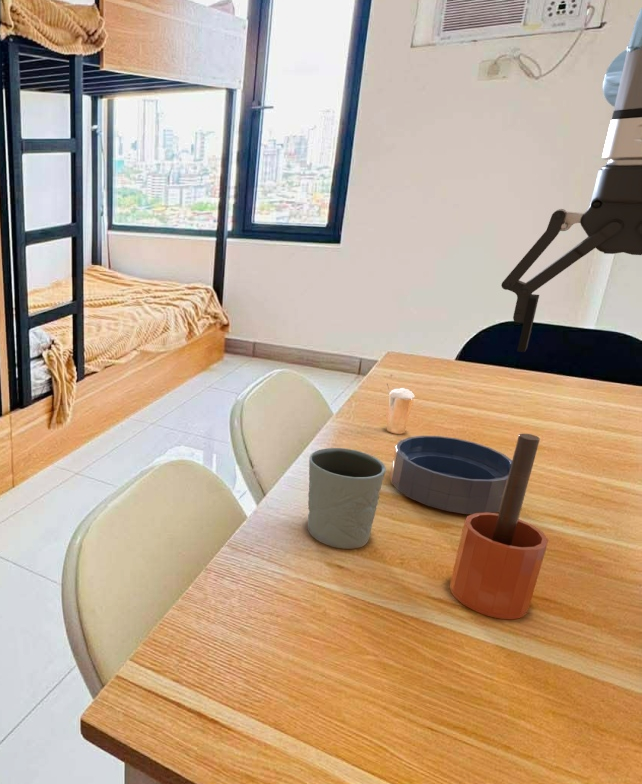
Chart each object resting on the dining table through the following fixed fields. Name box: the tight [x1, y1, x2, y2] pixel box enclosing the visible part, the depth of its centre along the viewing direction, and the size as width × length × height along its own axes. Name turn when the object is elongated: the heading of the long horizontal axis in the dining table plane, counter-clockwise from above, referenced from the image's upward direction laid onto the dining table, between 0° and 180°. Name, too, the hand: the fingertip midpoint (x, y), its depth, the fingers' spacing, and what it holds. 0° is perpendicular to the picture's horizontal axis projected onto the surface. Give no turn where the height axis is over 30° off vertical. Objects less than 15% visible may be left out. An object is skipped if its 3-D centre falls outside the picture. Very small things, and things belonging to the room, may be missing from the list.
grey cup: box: [307, 447, 387, 550], centre depth 93 cm, size 10×10×12 cm
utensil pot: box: [449, 512, 549, 620], centre depth 79 cm, size 8×8×10 cm
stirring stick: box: [492, 433, 541, 546], centre depth 77 cm, size 2×2×22 cm
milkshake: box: [386, 383, 415, 435], centre depth 129 cm, size 4×5×10 cm
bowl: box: [389, 435, 513, 515], centre depth 105 cm, size 17×17×6 cm
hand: (594, 358), depth 72 cm, fingers open, 13 cm apart
